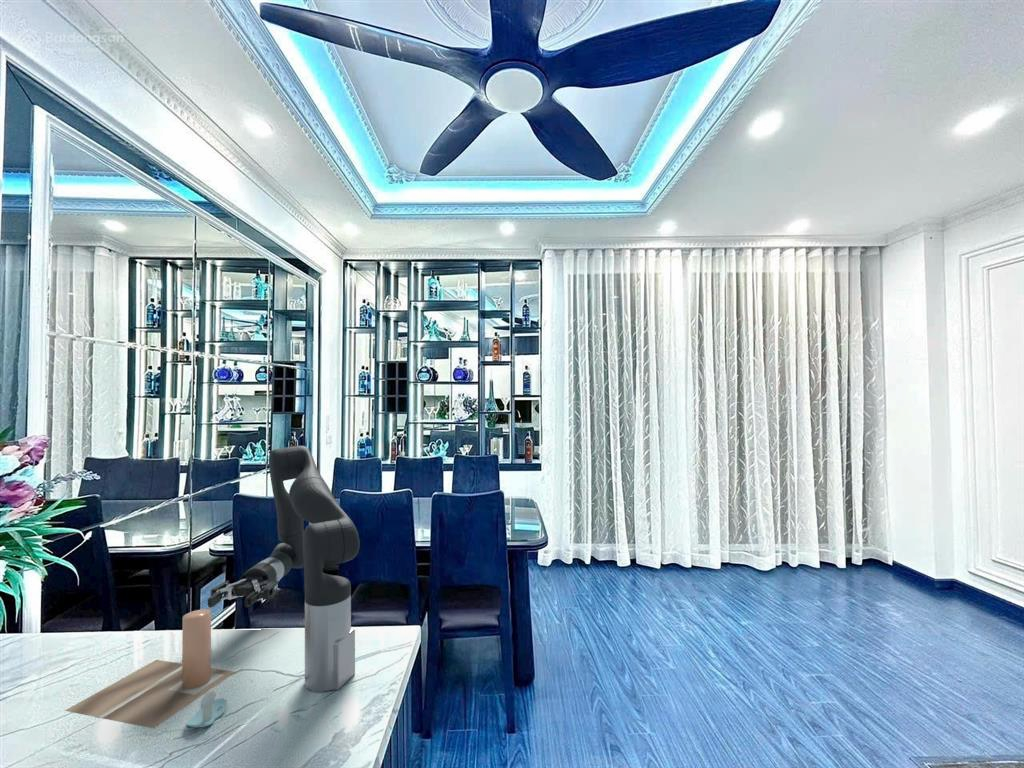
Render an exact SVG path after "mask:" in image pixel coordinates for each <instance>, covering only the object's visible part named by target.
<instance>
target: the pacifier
mask: <svg viewBox="0 0 1024 768" xmlns="http://www.w3.org/2000/svg"><path fill="white" fill-rule="evenodd" d="M227 705H228V703H227V700H226V699H225V698H217V691H216V690H215V688H214V687H213V688H211V689H209V690H208V691H207V692H206V693H204V694H203V697H202V699H201V702H200V709H199V710H198V711H197V712H196V713H195V714H193V715H191V717H189V718H188V719H187V720H186V721H185V722H184V723H183V726H182V729H183V730H184V731H190V730H194V729H196V728H203V727H208V726H210V725H213V723H214V721H216V720H217V719H219V718H220V717H221V716H222V715H223V714H224V713H225V711H226V709H227V707H228V706H227ZM220 709H221V710H220ZM187 726H188V727H187Z"/></svg>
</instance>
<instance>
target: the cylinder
mask: <svg viewBox="0 0 1024 768" xmlns="http://www.w3.org/2000/svg"><path fill="white" fill-rule="evenodd" d="M181 633H182V639H181V640H182V641H181V642H182V644H181V645H182V646H181V647H182V648H181V651H182V652H181V654H182V655H181V656H182V657H181V658H182V660H181V664H182V688H183V689H195V688H198V687H201V686H203V685H205V684H206V683H208V682H209V681H210V679H211V668H212V667H211V666H212V610H211V609H207V608H203V609H195V610H193V611H190V612H188V613H185V614H184V615H182V631H181Z"/></svg>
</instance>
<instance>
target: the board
mask: <svg viewBox="0 0 1024 768" xmlns="http://www.w3.org/2000/svg"><path fill="white" fill-rule="evenodd" d="M235 673H236V671H234V670H226V669H219V668H212V667H211V679H210V681H209V682H208V683H206V684H205V685H203V686H201V687H198V688H195V689H183V688H182V662H181V663H180V662H173V661H169V660H168V661H167V660H162V659H155V660H153V661H151V662H150V663H147V664H146V665H144V666H142V667H141V668H139V669H137V670H136V671H133V672H132V673H130V674H128V675H126V676H125V677H123V678H121V679H118V680H117V681H115V682H113V683H112V684H110V685H108V686H107V687H105V688H102V689H101V690H99V691H97V692H96V693H94V694H92V695H90V696H89V697H86V698H85V699H83V700H81V701H80V702H77V703H75V704H74V705H71V706H70V707H69V708H66V709H65V710H64V712H70V713H74V714H78V715H79V714H80V715H84V716H89V717H95V718H99V719H103V720H109V721H114V722H119V723H124V724H130V725H133V726H138V727H139V726H140V727H145V728H149V729H156V728H157V727H159V726H160V725H162V724H163V723H165V722H166V721H167V720H168V719H170V718H171V717H173V716H174V715H175V714H177V713H179V712H180V711H181V710H184V708H186V707H187V706H188V705H190V704H191V703H193V702H194V701H196V700H198V699H199V698H200V697H202V696H204V695H205V694H206V692H207V691H208V690H209V689H211V688H213V689H214V687H216V686H217V685H219V684H220V683H221V682H223V681H225V680H227V678H229V677H231V675H233V674H235Z"/></svg>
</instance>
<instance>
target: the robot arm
mask: <svg viewBox="0 0 1024 768" xmlns="http://www.w3.org/2000/svg"><path fill="white" fill-rule="evenodd" d="M268 467H269V468H268V469H269V475H270V476H269V477H270V483H271V489H272V494H273V495H272V496H273V500H274V503H275V504H274V505H275V509H276V518H277V522H276V523H277V537H278V540H279V541H280V543H278V544H277V545H275V547H274V549H273V550H272V552H271V554H270V555H269V556H268V557H267V558H265V559H263V560H261V561H260V562H258V563H256V564H255V565H253V566H252V567H251V568H249V569H248V570H246V571H245V572H244V574H242V576H241V577H240V580H238V581H236V582H235V581H234V582H233V583H230V580H225V581H223V582H221V583H219V584H218V585H216V586H214V587H212V588H211V589H210V597H208V598H207V607H208V608H214V607H215V606H217V605H218V604H219V603H220V602H221V601H224V600H229V601H231V600H233V599H237V598H239V597H240V598H243V597H245V599H244V607H245V608H249V607H250V606H251V605H253V604H255V603H256V602H260V601H261V600H262V599H264V600H265V601H267V600H269V599H270V598H272V597H273V596H274V594H276V593H277V591H278V589H279V587H278V585H279V582H280V580H281V579H282V578H284V577H285V576H286V575H287V574H288V573H289V572H290V571H291V569H303V574H304V575H303V577H304V580H303V581H304V585H303V586H304V687H305V689H307V690H309V691H311V692H321V693H322V692H327V691H332V690H337V691H338V690H340V689H341V688H342V687H343V686H344V685H345V684H346V683H347V682H348V681H349V680H350V679H351V678H352V677H353V676H354V675H355V674H356V630H355V628H352V624H351V623H352V614H351V613H352V596H351V594H352V586H351V585H352V584H351V581H350V579H348V578H347V577H344V576H342V575H341V576H339V575H334V574H333V575H332V574H328V573H325V572H323V569H324V568H325V567H330V566H335V565H340V564H343V563H347V562H349V561H352V560H354V559H355V558H356V556H357V555H358V554H359V551H360V544H361V543H360V537H359V532H358V530H357V527H356V526H355V524H354V522H353V520H352V519H351V518H350V517H349V516H348V514H347V513H346V512H345V511H344V509H342V508H341V506H340V505H339V503H338V501H336V499H335V497H334V495H333V494H332V490H331V489H330V487H329V486H328V484H327V482H326V481H325V479H324V478H323V476H322V474H321V473H320V472H319V469H318V467H317V465H316V462H315V459H314V457H313V455H312V453H311V450H310V449H309V447H307V446H305V445H295V446H288V447H280V448H275V449H273V450H271V451H270V453H269V457H268ZM288 480H293V482H292V484H291V485H290V488H289V491H287V489H286V487H285V483H284V482H285V481H288ZM304 522H308V523H309V525H307V526H306V527H305V528H304ZM232 592H233V594H232Z"/></svg>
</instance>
